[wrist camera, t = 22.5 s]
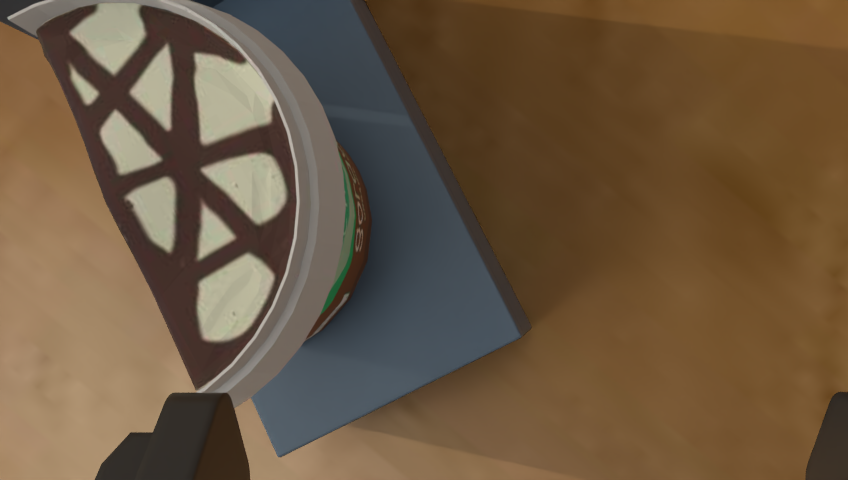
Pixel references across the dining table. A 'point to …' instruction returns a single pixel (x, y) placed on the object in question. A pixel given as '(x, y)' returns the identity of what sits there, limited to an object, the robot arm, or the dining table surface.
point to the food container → (212, 177)
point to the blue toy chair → (378, 233)
